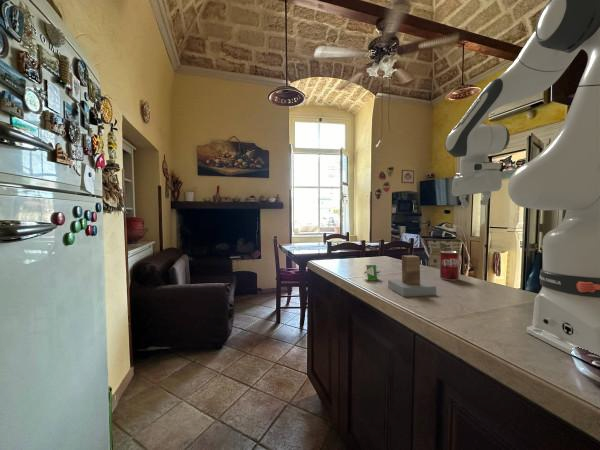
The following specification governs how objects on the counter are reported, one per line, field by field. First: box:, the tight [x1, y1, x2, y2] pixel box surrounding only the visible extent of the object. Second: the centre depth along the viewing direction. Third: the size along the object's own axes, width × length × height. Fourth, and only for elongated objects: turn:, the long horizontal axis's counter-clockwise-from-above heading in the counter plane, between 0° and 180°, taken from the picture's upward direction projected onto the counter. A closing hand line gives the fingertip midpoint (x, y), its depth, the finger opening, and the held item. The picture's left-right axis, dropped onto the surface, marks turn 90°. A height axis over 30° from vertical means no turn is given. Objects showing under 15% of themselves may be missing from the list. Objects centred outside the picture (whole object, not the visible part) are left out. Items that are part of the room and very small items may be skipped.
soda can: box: [439, 250, 460, 282], centre depth 111 cm, size 7×7×12 cm
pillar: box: [401, 254, 421, 285], centre depth 94 cm, size 4×4×10 cm
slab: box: [387, 278, 437, 297], centre depth 94 cm, size 12×12×3 cm
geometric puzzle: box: [362, 264, 381, 281], centre depth 114 cm, size 7×7×8 cm
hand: (474, 206), depth 96 cm, fingers open, 8 cm apart
